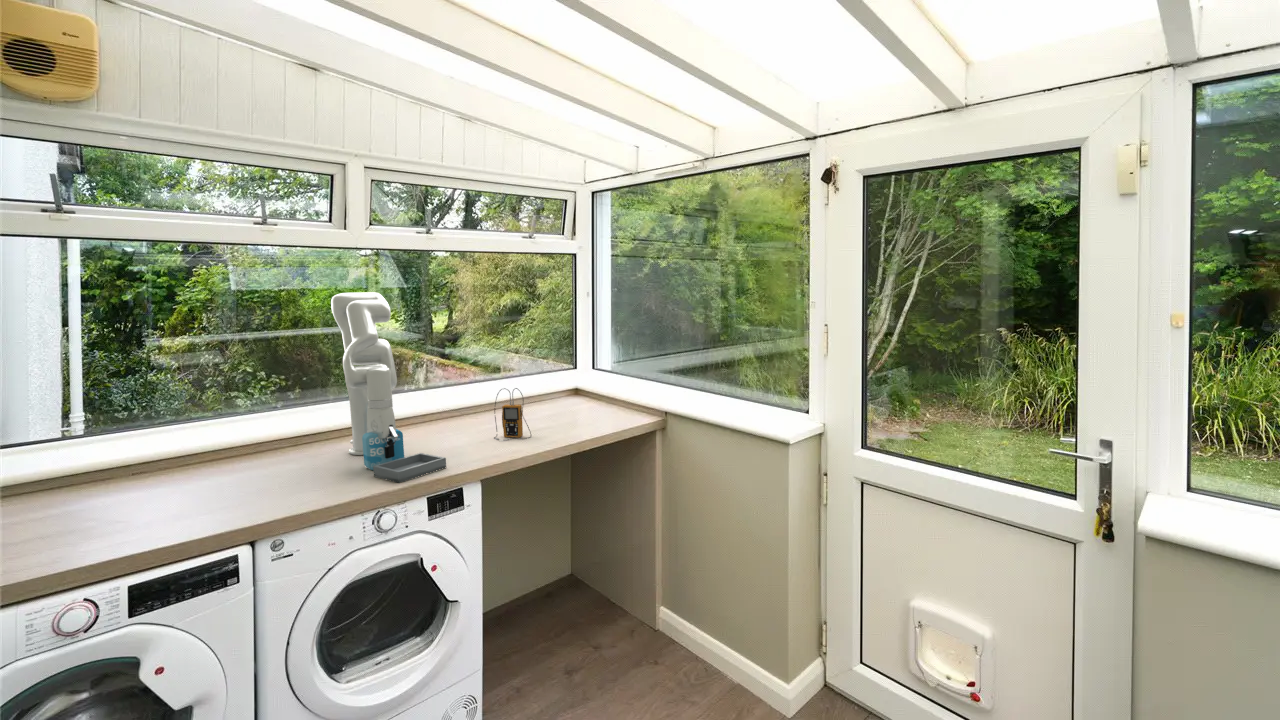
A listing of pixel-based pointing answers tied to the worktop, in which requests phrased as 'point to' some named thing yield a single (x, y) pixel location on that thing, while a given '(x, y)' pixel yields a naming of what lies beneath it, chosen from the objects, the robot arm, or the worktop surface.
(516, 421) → the multimeter
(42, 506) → the worktop surface
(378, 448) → the data package
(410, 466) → the parts tray
